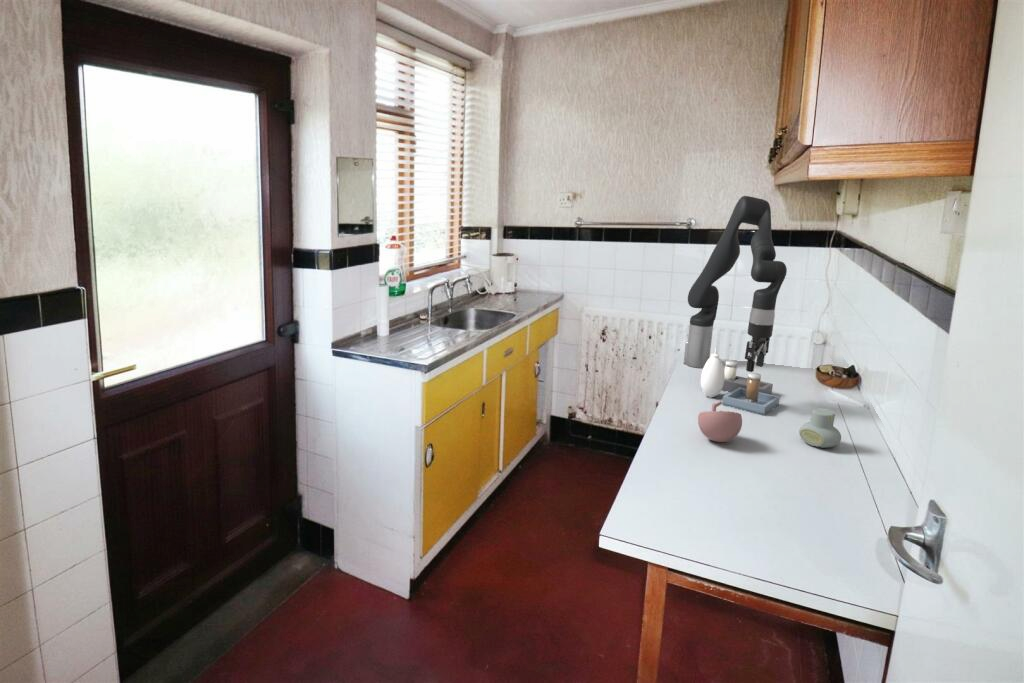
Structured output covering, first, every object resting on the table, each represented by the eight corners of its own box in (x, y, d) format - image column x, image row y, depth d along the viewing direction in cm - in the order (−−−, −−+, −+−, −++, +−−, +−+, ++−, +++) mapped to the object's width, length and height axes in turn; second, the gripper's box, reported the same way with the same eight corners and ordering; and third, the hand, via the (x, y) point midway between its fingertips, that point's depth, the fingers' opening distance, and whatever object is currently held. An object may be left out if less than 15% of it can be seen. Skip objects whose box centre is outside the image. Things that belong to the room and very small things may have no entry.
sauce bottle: (698, 398, 215) (704, 348, 210) (699, 391, 222) (704, 343, 217) (722, 401, 212) (728, 350, 208) (721, 394, 220) (727, 345, 215)
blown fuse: (742, 402, 209) (746, 374, 207) (747, 399, 212) (751, 372, 210) (754, 405, 207) (758, 377, 204) (759, 402, 210) (762, 374, 207)
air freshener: (792, 440, 181) (797, 407, 179) (809, 435, 185) (814, 403, 183) (827, 454, 172) (833, 420, 170) (844, 448, 176) (850, 415, 174)
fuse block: (712, 388, 226) (713, 377, 225) (722, 383, 233) (724, 372, 232) (762, 400, 215) (763, 389, 214) (771, 394, 222) (772, 383, 221)
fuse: (720, 388, 227) (723, 361, 225) (725, 385, 230) (728, 359, 228) (731, 390, 224) (734, 364, 222) (735, 388, 227) (739, 362, 225)
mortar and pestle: (732, 433, 184) (736, 396, 182) (745, 449, 173) (750, 411, 170) (691, 431, 185) (695, 395, 182) (701, 447, 173) (706, 409, 170)
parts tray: (722, 404, 209) (723, 396, 208) (738, 395, 219) (739, 387, 219) (763, 415, 200) (765, 406, 199) (778, 405, 210) (780, 397, 210)
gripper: (758, 316, 210) (751, 362, 214) (741, 322, 200) (735, 370, 204) (780, 320, 205) (773, 367, 210) (764, 326, 195) (757, 375, 199)
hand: (754, 368), depth 207 cm, fingers open, 8 cm apart
